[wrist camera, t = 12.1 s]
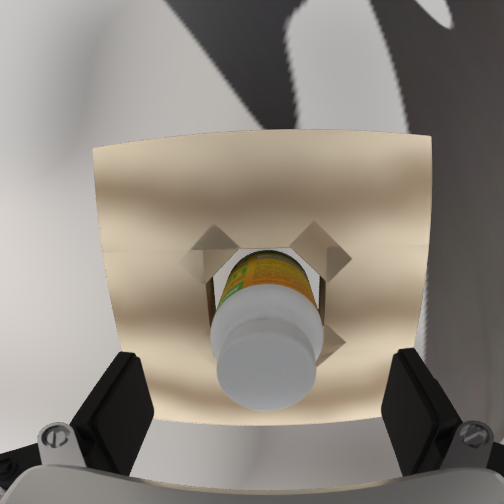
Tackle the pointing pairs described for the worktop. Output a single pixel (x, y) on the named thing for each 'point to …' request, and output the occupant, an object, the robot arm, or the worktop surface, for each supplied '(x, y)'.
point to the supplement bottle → (267, 332)
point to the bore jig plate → (266, 236)
